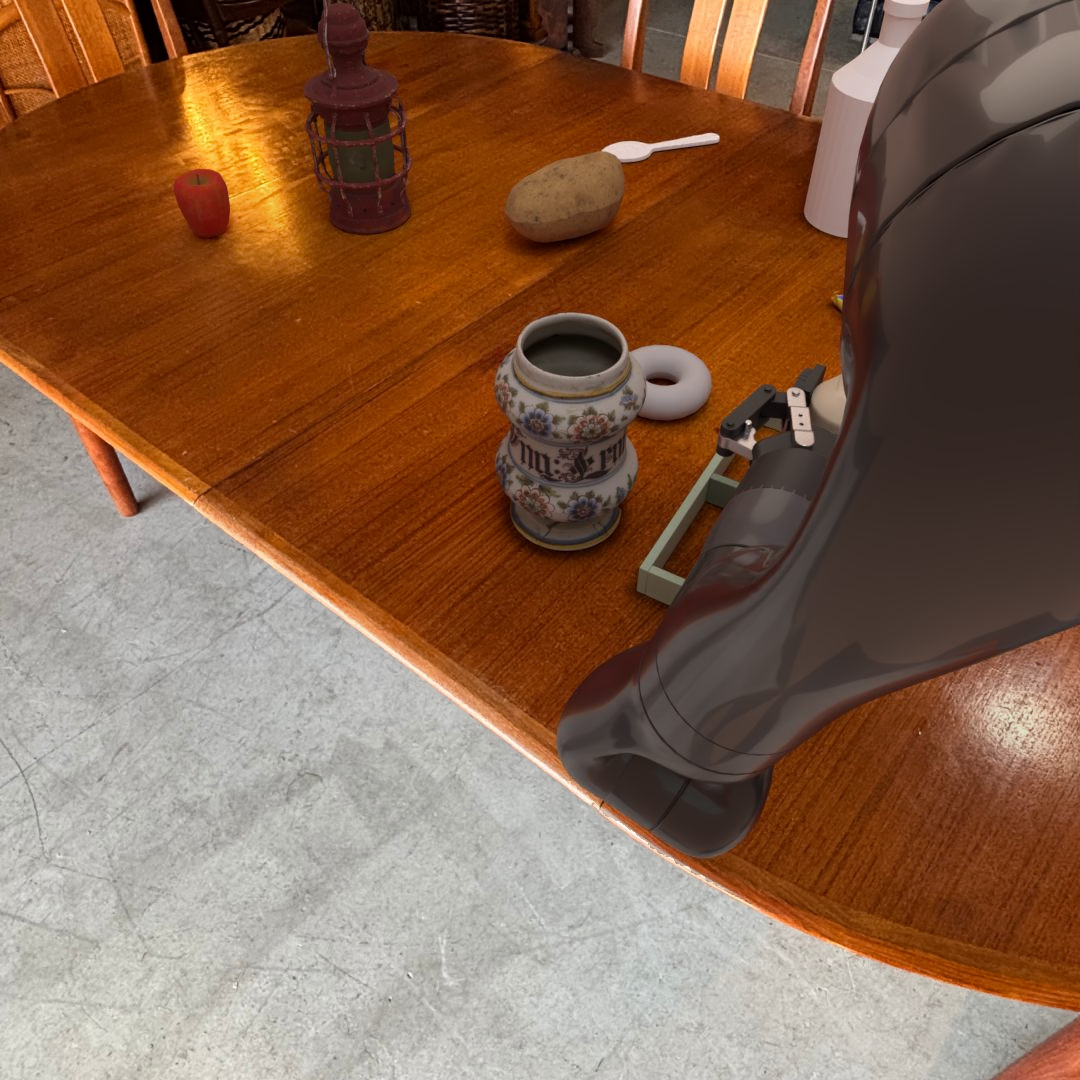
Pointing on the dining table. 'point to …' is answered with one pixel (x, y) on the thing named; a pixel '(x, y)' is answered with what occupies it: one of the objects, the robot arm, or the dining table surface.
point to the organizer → (686, 526)
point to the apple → (203, 201)
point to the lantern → (357, 129)
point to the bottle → (854, 118)
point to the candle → (828, 404)
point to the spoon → (656, 146)
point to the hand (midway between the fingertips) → (860, 388)
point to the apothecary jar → (568, 429)
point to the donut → (679, 369)
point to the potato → (567, 198)
